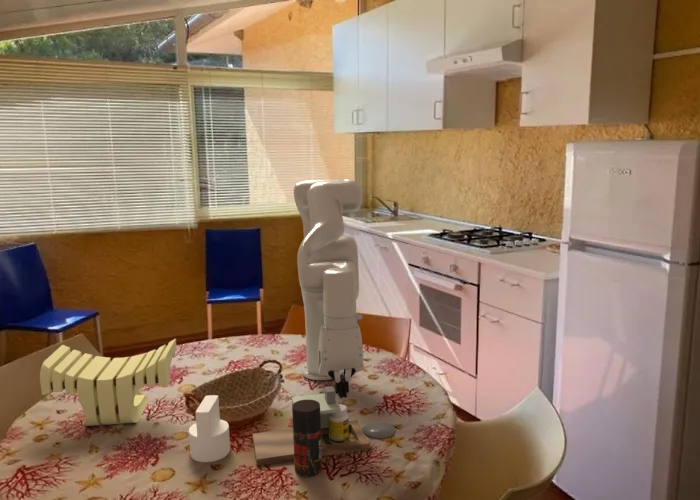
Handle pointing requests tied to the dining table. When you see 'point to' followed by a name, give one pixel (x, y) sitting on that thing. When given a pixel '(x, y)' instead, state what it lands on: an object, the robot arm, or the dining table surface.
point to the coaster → (379, 430)
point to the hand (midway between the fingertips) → (342, 395)
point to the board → (281, 444)
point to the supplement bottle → (339, 426)
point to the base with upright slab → (209, 432)
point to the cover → (323, 404)
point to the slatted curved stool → (107, 381)
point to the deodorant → (307, 438)
